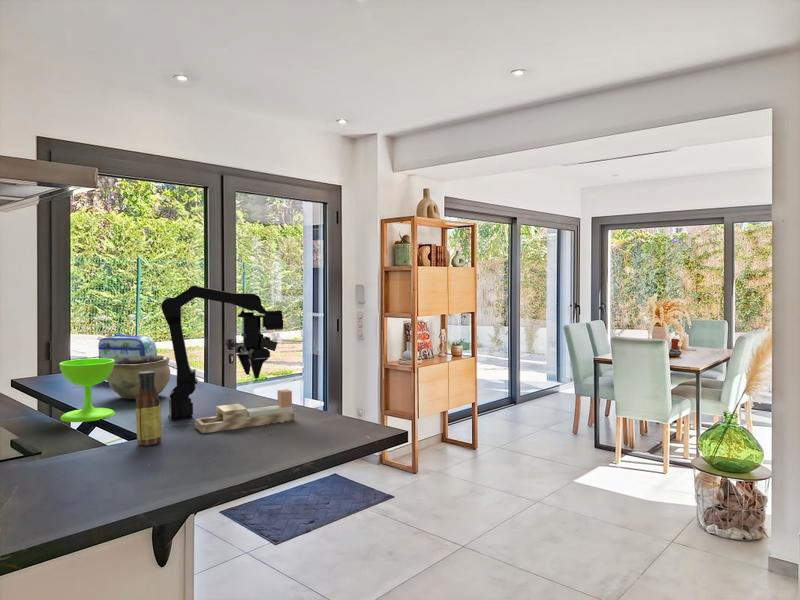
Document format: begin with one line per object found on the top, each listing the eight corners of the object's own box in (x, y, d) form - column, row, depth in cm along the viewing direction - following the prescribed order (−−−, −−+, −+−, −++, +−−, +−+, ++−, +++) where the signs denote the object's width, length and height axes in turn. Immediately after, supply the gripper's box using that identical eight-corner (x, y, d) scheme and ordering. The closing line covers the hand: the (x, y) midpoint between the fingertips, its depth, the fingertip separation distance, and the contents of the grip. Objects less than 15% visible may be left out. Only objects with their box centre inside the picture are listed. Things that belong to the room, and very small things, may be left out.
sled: (249, 420, 178) (249, 396, 178) (244, 418, 182) (244, 393, 181) (292, 415, 186) (292, 391, 186) (287, 412, 190) (287, 389, 189)
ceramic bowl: (176, 400, 214) (176, 360, 213) (112, 407, 202) (111, 364, 201) (163, 390, 232) (163, 353, 232) (103, 396, 220) (103, 357, 220)
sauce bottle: (166, 441, 159) (166, 370, 159) (150, 447, 154) (149, 374, 153) (147, 439, 162) (147, 369, 161) (130, 445, 156) (130, 372, 155)
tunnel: (201, 433, 168) (201, 414, 168) (194, 427, 175) (194, 408, 175) (294, 420, 184) (294, 403, 184) (284, 415, 191) (284, 398, 191)
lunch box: (94, 382, 249) (93, 334, 248) (114, 378, 259) (114, 332, 258) (140, 386, 240) (140, 337, 239) (159, 382, 250) (159, 334, 249)
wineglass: (110, 420, 183) (109, 364, 182) (53, 423, 178) (52, 366, 178) (119, 409, 198) (119, 357, 198) (67, 412, 194) (66, 359, 193)
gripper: (285, 331, 190) (285, 378, 190) (265, 327, 205) (265, 370, 206) (252, 333, 184) (252, 381, 184) (234, 328, 199) (234, 373, 200)
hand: (252, 376), depth 194 cm, fingers open, 9 cm apart
